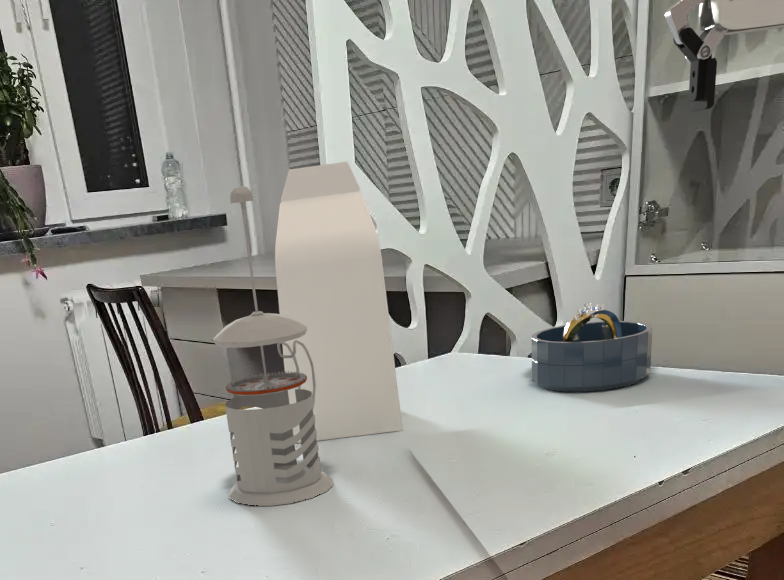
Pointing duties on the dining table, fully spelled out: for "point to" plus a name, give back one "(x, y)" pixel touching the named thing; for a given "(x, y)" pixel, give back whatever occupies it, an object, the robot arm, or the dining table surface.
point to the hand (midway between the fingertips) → (752, 103)
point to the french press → (271, 411)
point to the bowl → (591, 357)
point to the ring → (585, 317)
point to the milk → (336, 302)
